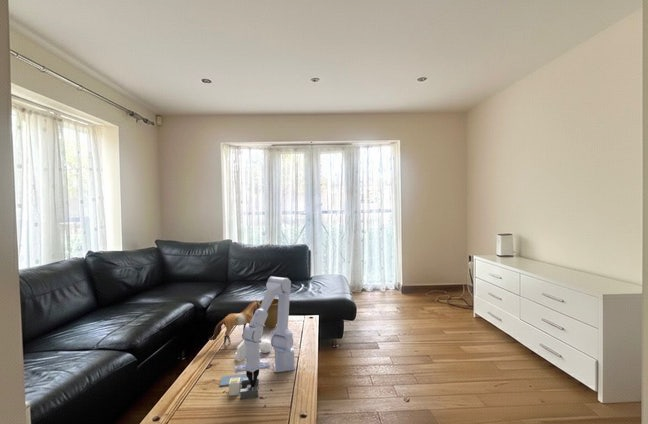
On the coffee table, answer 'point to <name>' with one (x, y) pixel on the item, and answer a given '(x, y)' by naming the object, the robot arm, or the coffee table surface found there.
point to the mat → (226, 379)
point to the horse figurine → (235, 321)
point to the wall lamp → (235, 386)
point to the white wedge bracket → (241, 352)
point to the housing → (249, 389)
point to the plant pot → (271, 313)
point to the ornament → (265, 346)
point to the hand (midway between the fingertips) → (253, 387)
